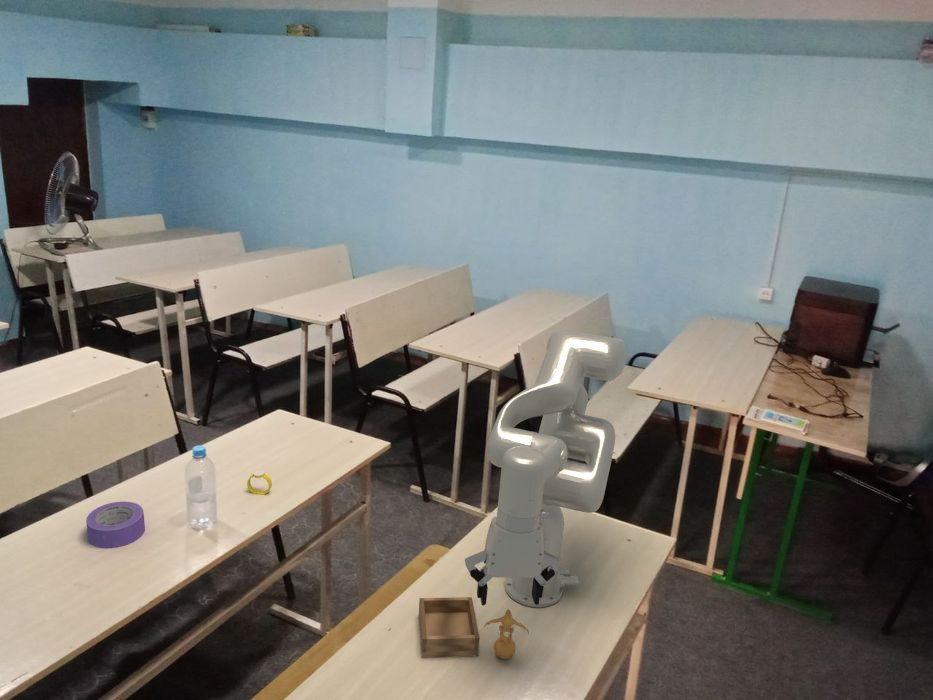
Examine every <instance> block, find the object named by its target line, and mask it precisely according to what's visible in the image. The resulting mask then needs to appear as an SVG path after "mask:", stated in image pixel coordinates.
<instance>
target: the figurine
mask: <svg viewBox="0 0 933 700" xmlns="http://www.w3.org/2000/svg"><path fill="white" fill-rule="evenodd" d="M493 623H494V624H496V623H500V624H501V625H500V626H499V629H498V631H500V633H499V637H498V638H497V639H496V640H495V642H494V646H493V650H494V652H495V655H496V656H497V657H498V658H500V659H502V660H508V659H510V658H511V657H513V655H514V654H515V652H516V644H515V642H514V640H513V639H512V638H513V633H514V631H515V628H514V627H513V625H515V626H518V627H520V628H522V629H523V630H524V631H526V632H527V634H528V635H529V634H530V631H529V629H528V628H527V627H526V626H525V625H524V624H523V623H521V622H519V621H517V620H516V619H514V617H513V616H512V612H511V610H510V609H507V610H506V611H505V613H504V615H503V616H501V617H498V618H494V619H491V620H489V621H487V622H485V624H484V626H483V627H484V628H486V626H489V625H491V624H493ZM504 633H509V634H508V636H504Z"/></svg>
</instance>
